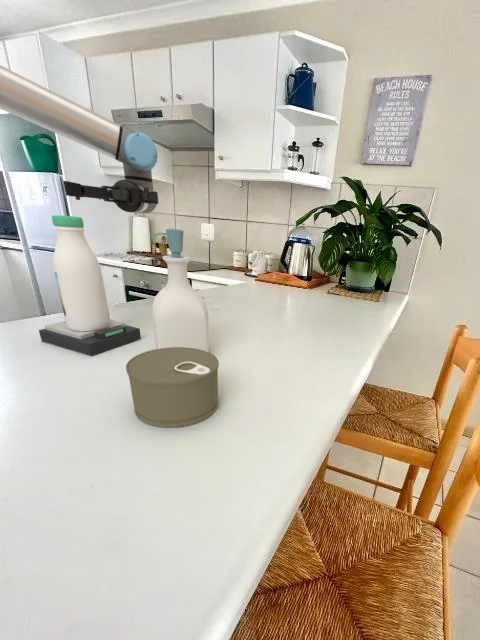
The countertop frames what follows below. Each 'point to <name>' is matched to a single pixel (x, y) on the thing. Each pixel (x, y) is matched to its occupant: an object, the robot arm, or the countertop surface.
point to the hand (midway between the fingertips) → (100, 191)
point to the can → (174, 386)
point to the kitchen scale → (90, 337)
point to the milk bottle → (78, 277)
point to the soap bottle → (179, 303)
